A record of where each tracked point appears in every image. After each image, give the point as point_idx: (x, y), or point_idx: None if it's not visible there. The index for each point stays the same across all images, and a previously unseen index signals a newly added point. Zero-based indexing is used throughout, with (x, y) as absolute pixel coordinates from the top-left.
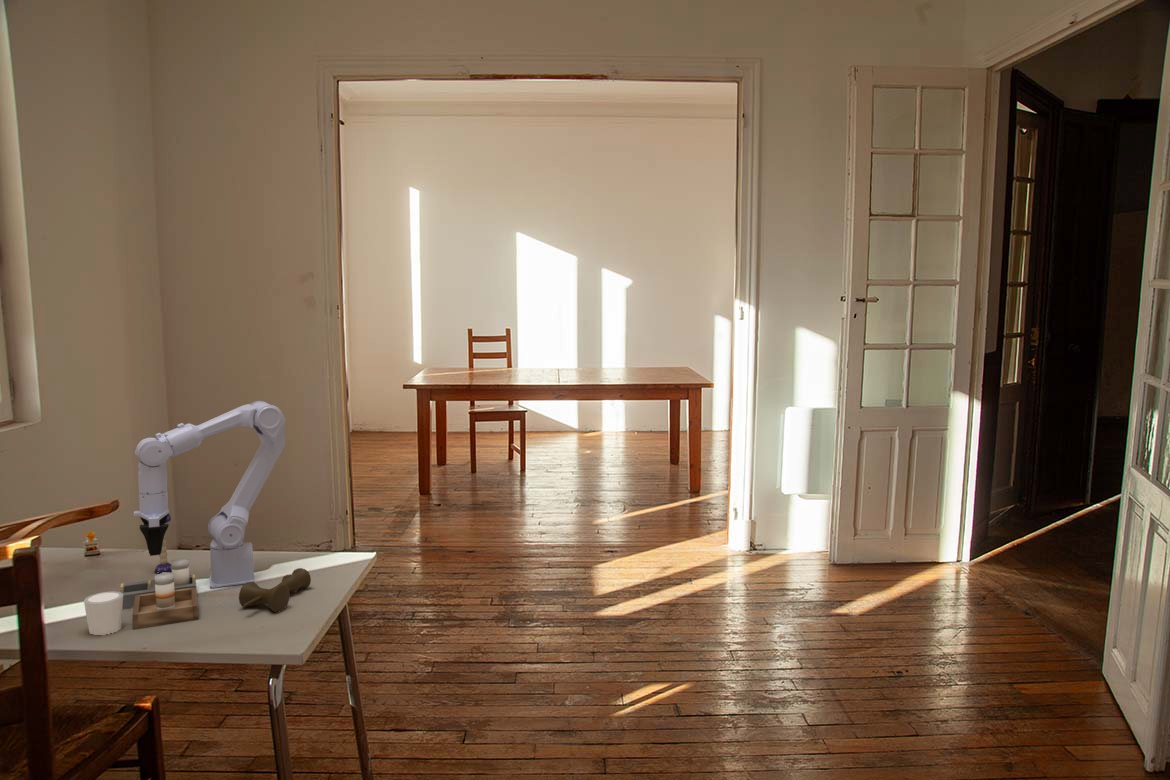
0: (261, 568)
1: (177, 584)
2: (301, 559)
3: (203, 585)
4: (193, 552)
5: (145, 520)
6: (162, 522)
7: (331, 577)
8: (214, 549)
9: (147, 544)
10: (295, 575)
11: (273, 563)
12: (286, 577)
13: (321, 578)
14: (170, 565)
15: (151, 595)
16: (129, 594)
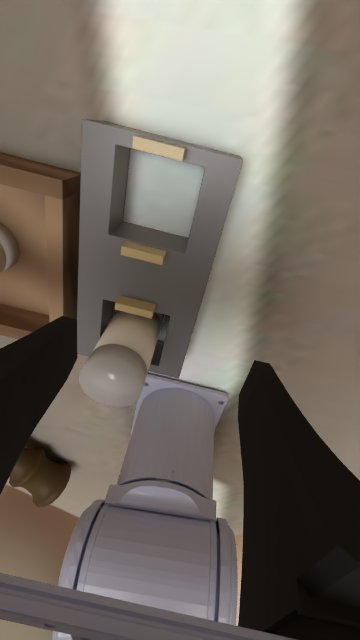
0: (217, 468)
1: (110, 321)
2: (219, 515)
3: (183, 368)
4: None
5: (304, 535)
6: (246, 550)
7: (92, 502)
8: (140, 478)
9: (2, 349)
10: (24, 487)
11: (232, 488)
12: (18, 477)
13: (95, 494)
14: None
15: (48, 232)
16: (81, 162)
